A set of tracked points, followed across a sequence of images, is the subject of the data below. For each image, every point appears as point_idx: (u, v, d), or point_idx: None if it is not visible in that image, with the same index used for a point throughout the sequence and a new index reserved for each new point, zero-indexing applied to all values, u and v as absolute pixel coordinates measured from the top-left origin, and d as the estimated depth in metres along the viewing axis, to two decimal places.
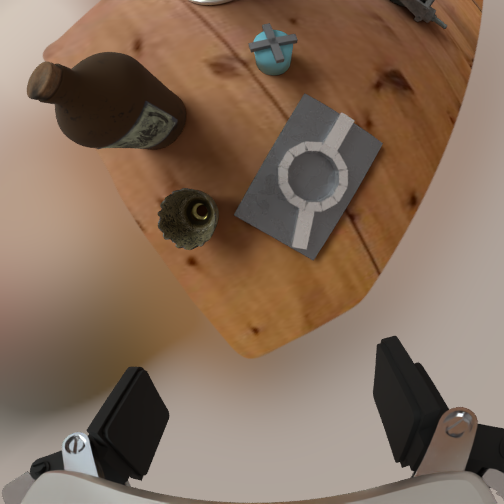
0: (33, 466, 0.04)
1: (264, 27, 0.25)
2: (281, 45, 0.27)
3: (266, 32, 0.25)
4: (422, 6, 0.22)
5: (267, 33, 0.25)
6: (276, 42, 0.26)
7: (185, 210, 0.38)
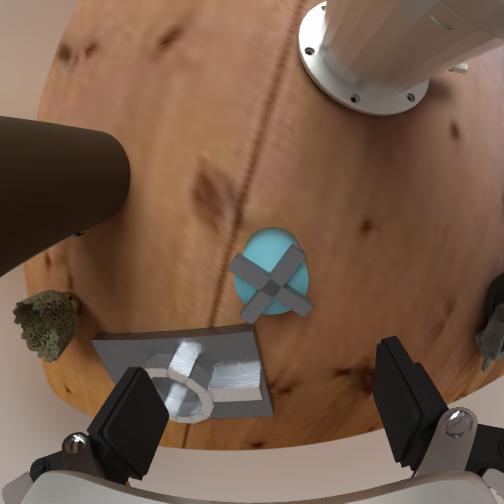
0: (32, 466, 0.04)
1: (290, 255, 0.17)
2: None
3: (281, 266, 0.17)
4: (494, 352, 0.20)
5: (280, 269, 0.17)
6: (272, 294, 0.17)
7: None
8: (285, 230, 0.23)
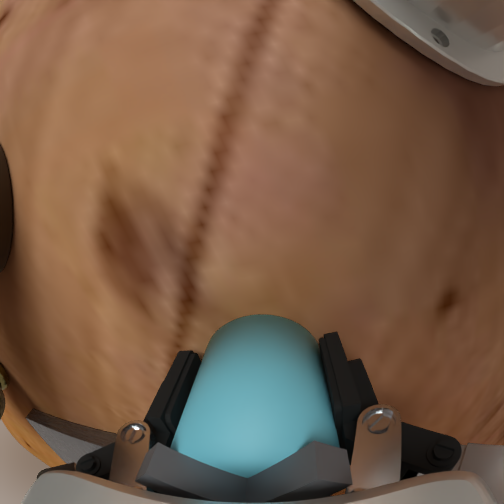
0: (80, 463, 0.05)
1: (305, 488, 0.04)
2: None
3: (277, 498, 0.04)
4: None
5: None
6: None
7: None
8: (291, 321, 0.10)
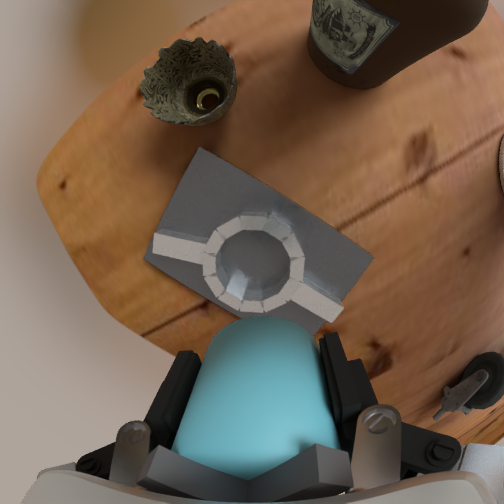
0: (80, 463, 0.05)
1: (306, 490, 0.04)
2: None
3: (278, 501, 0.04)
4: (460, 402, 0.26)
5: None
6: None
7: (209, 78, 0.21)
8: (292, 323, 0.10)
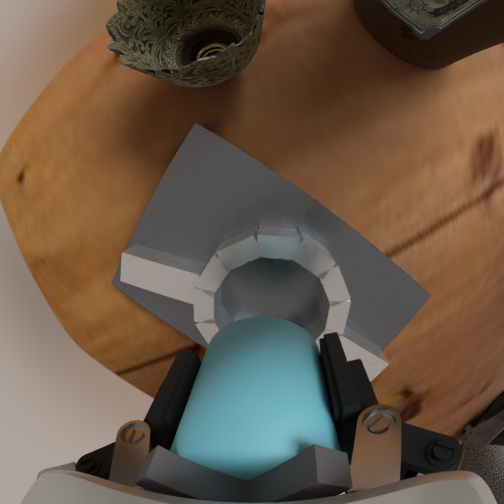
0: (80, 463, 0.05)
1: (305, 491, 0.04)
2: None
3: (277, 501, 0.04)
4: (483, 443, 0.18)
5: None
6: None
7: (217, 27, 0.13)
8: (291, 323, 0.10)
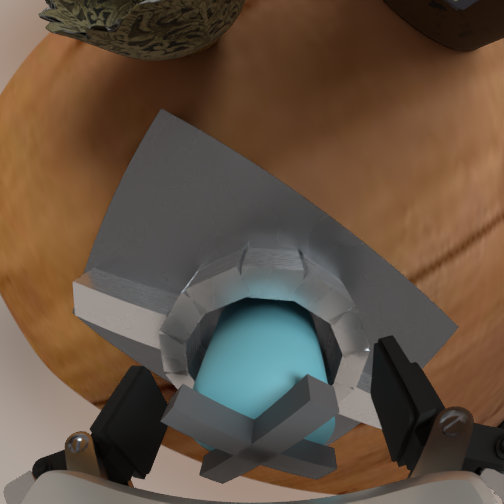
0: (35, 465, 0.04)
1: (301, 412, 0.06)
2: None
3: (279, 428, 0.06)
4: None
5: (276, 433, 0.06)
6: (259, 460, 0.07)
7: None
8: None
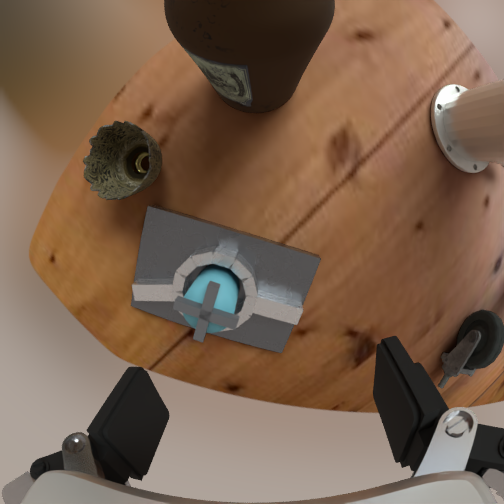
0: (32, 466, 0.04)
1: (207, 290, 0.23)
2: None
3: (205, 299, 0.23)
4: (458, 366, 0.29)
5: (205, 301, 0.23)
6: (207, 318, 0.24)
7: (139, 145, 0.26)
8: None
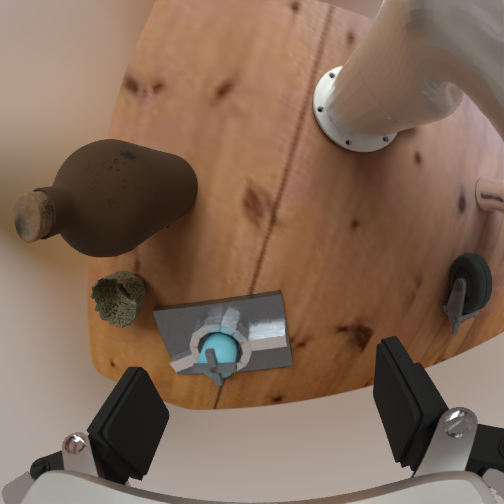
0: (32, 466, 0.04)
1: (206, 356, 0.33)
2: None
3: (208, 361, 0.33)
4: (457, 315, 0.33)
5: (209, 362, 0.33)
6: (216, 371, 0.34)
7: None
8: None
